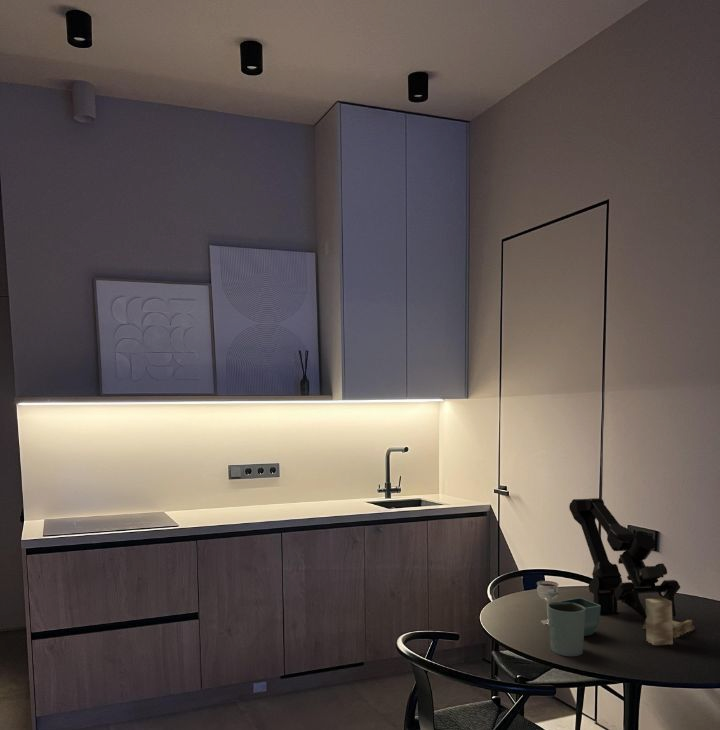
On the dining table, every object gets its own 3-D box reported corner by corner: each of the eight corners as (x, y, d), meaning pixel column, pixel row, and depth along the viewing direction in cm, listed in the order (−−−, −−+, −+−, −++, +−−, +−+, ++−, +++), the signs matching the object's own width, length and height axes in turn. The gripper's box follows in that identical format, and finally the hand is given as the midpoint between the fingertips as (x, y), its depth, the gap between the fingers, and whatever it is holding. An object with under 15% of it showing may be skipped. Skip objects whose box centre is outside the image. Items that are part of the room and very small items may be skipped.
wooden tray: (675, 638, 194) (675, 629, 194) (642, 629, 202) (642, 620, 202) (694, 629, 201) (694, 621, 201) (662, 621, 209) (662, 612, 209)
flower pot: (578, 640, 192) (578, 609, 192) (558, 631, 200) (557, 600, 200) (602, 636, 195) (601, 605, 196) (581, 627, 203) (580, 597, 204)
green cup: (546, 654, 181) (545, 609, 182) (549, 641, 191) (549, 599, 191) (585, 659, 178) (584, 613, 178) (587, 646, 187) (586, 603, 188)
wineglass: (535, 624, 206) (534, 584, 207) (539, 617, 212) (538, 579, 213) (557, 627, 203) (556, 587, 204) (561, 620, 209) (560, 582, 210)
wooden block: (654, 645, 188) (652, 602, 189) (646, 641, 191) (645, 598, 192) (673, 644, 189) (671, 601, 190) (665, 639, 192) (664, 597, 193)
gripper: (618, 555, 195) (642, 604, 183) (675, 552, 198) (702, 600, 186) (604, 575, 202) (626, 624, 190) (659, 572, 205) (684, 620, 194)
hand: (660, 616), depth 190 cm, fingers open, 9 cm apart
